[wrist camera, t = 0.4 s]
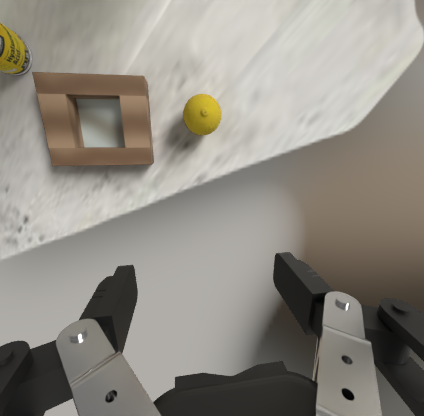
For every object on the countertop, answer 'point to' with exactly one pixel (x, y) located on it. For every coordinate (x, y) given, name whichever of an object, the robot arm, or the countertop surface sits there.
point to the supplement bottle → (13, 53)
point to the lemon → (202, 114)
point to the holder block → (95, 118)
